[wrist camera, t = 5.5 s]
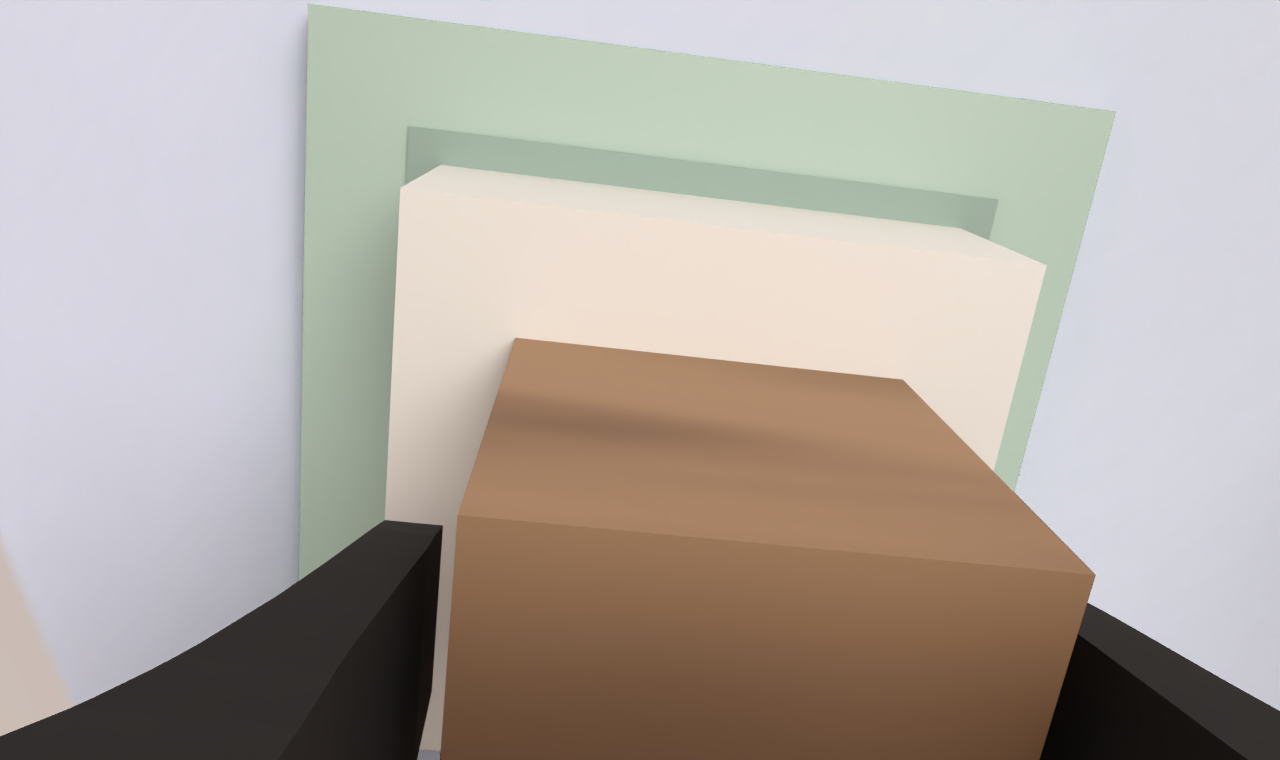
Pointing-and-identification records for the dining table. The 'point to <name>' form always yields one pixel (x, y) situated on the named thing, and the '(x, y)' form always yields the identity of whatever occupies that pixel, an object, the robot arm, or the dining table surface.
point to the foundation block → (673, 313)
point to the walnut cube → (744, 572)
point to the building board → (634, 158)
